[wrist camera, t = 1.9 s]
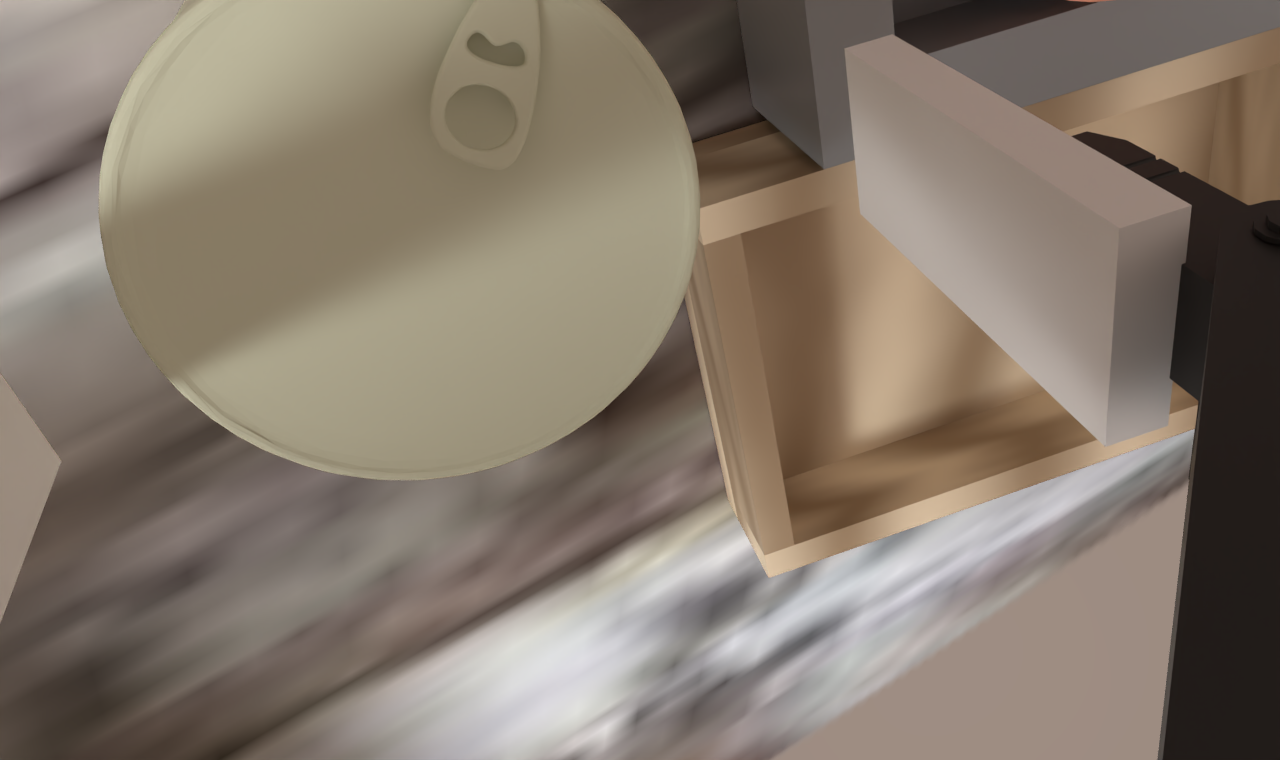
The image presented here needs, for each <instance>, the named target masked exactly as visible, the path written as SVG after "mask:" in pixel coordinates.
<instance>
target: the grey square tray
mask: <svg viewBox="0 0 1280 760" xmlns="http://www.w3.org/2000/svg"><path fill="white" fill-rule="evenodd" d="M736 1H737V7H738V14H739V20H740V27H741V33H742V40H743V46H744V53H745V59H746V66H747V72H748V79H749V85H750V92H751V99H752V105H753V107H754V108H755V109H756V110H757V111H758V112H759V113H760V114H762V115H763V116H764V117H765V118H766V119H767V120H768V121H770V122H771V123H772V124H773V125H774V126H775V127H776V128H778V129H779V130H780V131H781V132H782V133H783V134H784V135H786V136H787V137H788V138H789V139H790V140H791V141H792V142H794V143H795V144H796V145H797V146H798V147H799V148H800V149H801V150H803V151H804V152H805V153H806V154H807V155H808V156H809V157H811V158H812V159H813V160H814V161H815V162H816V163H817V164H819V165H820V166H821V167H822V168H823V169H827V168H830V167H834V166H837V165H840V164H843V163H846V162H850V161H853V160H855V155H854V144H853V134H852V123H851V113H850V102H849V92H848V81H847V71H846V60H845V50H844V48H848V47H851V46H854V45H858V44H861V43H865V42H868V41H871V40H875V39H878V38H881V37H885V36H888V35H892V34H893V35H894V36H896V37H898V38H900V39H901V40H903V41H905V42H907V43H908V44H910V45H912V46H914V47H916V48H917V49H919V50H921V51H923V52H924V53H926V54H928V55H930V56H931V57H933V58H935V59H937V60H938V61H940V62H942V63H944V64H945V65H947V66H949V67H951V68H952V69H954V70H956V71H958V72H959V73H961V74H963V75H965V76H966V77H968V78H970V79H972V80H973V81H975V82H977V83H979V84H980V85H982V86H984V87H986V88H987V89H989V90H991V91H993V92H994V93H996V94H998V95H1000V96H1001V97H1003V98H1005V99H1007V100H1008V101H1010V102H1012V103H1014V104H1015V105H1017V106H1019V107H1021V108H1022V107H1025V106H1029V105H1032V104H1035V103H1038V102H1041V101H1045V100H1048V99H1051V98H1054V97H1057V96H1061V95H1064V94H1067V93H1070V92H1073V91H1077V90H1080V89H1083V88H1086V87H1089V86H1093V85H1096V84H1099V83H1102V82H1105V81H1109V80H1112V79H1115V78H1118V77H1121V76H1125V75H1128V74H1131V73H1134V72H1137V71H1141V70H1144V69H1147V68H1150V67H1153V66H1157V65H1160V64H1163V63H1166V62H1169V61H1173V60H1176V59H1179V58H1182V57H1185V56H1189V55H1192V54H1195V53H1198V52H1201V51H1204V50H1208V49H1211V48H1214V47H1217V46H1220V45H1224V44H1227V43H1230V42H1233V41H1236V40H1240V39H1243V38H1246V37H1249V36H1252V35H1256V34H1259V33H1262V32H1265V31H1268V30H1272V29H1275V28H1278V27H1280V0H1110V1H1099V2H1081V1H1067V0H736Z"/></svg>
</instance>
